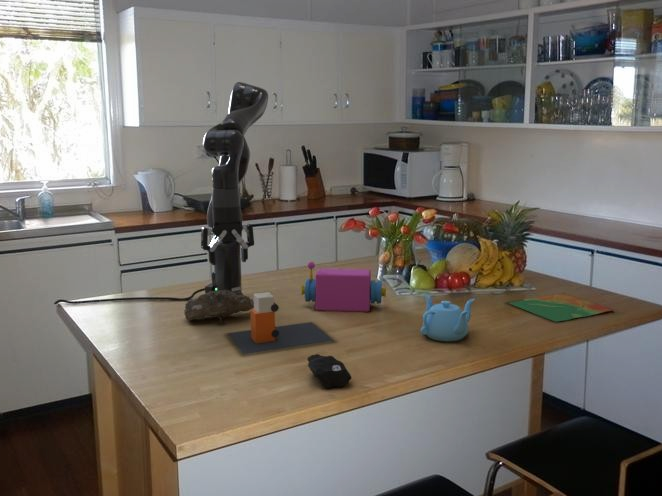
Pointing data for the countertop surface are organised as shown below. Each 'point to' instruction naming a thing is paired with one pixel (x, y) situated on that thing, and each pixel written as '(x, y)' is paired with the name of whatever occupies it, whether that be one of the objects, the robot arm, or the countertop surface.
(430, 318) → the teapot
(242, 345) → the mat
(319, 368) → the rock
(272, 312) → the truck
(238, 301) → the fossil
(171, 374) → the countertop surface
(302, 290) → the toy
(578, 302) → the terrain model
